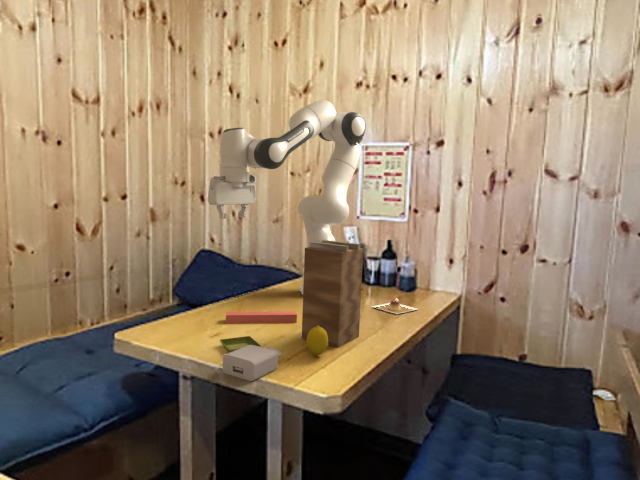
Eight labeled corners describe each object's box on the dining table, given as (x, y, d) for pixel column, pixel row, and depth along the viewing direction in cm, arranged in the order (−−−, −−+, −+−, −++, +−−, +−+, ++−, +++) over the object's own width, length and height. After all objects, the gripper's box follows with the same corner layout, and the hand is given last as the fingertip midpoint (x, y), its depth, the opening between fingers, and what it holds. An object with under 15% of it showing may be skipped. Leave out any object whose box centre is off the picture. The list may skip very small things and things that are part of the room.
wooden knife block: (324, 329, 151) (327, 239, 148) (358, 336, 145) (363, 243, 141) (301, 338, 141) (305, 242, 138) (337, 347, 135) (342, 247, 131)
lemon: (311, 360, 124) (312, 329, 123) (302, 353, 129) (303, 323, 128) (331, 358, 126) (332, 327, 125) (322, 351, 131) (323, 321, 130)
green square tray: (261, 353, 129) (261, 345, 129) (229, 357, 125) (229, 349, 125) (249, 343, 137) (249, 335, 136) (218, 347, 133) (218, 339, 132)
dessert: (370, 309, 179) (371, 296, 178) (392, 304, 187) (393, 292, 186) (396, 316, 170) (397, 303, 169) (418, 311, 178) (419, 298, 177)
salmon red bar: (225, 320, 157) (226, 311, 157) (295, 320, 161) (295, 311, 160) (225, 324, 153) (225, 315, 153) (296, 323, 157) (296, 314, 157)
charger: (292, 363, 123) (253, 382, 110) (262, 355, 127) (222, 373, 114) (292, 344, 122) (254, 362, 109) (262, 337, 127) (222, 353, 114)
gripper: (218, 176, 156) (217, 220, 157) (259, 177, 173) (258, 217, 174) (203, 175, 159) (203, 218, 160) (245, 177, 176) (245, 216, 178)
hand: (232, 218), depth 168 cm, fingers open, 8 cm apart
